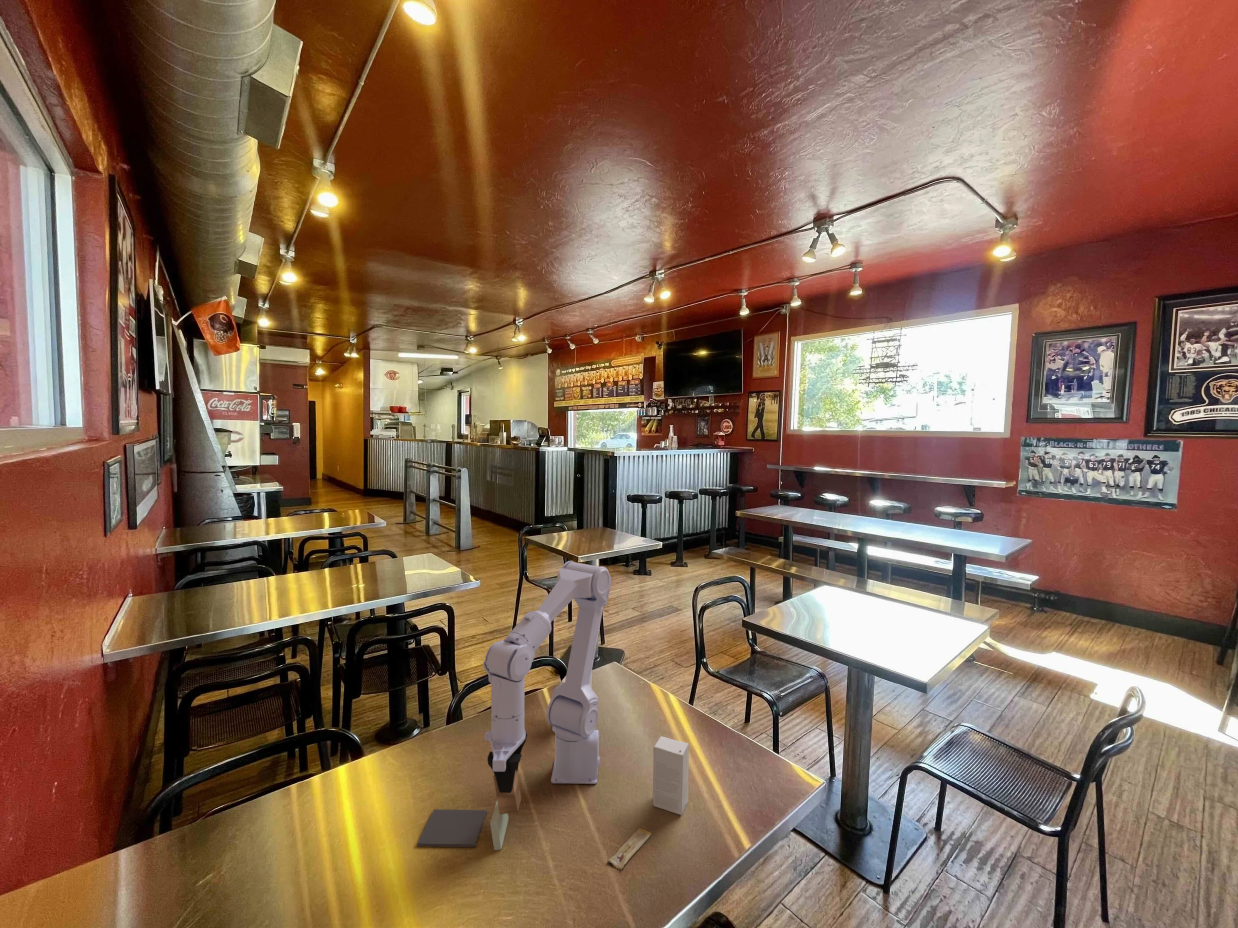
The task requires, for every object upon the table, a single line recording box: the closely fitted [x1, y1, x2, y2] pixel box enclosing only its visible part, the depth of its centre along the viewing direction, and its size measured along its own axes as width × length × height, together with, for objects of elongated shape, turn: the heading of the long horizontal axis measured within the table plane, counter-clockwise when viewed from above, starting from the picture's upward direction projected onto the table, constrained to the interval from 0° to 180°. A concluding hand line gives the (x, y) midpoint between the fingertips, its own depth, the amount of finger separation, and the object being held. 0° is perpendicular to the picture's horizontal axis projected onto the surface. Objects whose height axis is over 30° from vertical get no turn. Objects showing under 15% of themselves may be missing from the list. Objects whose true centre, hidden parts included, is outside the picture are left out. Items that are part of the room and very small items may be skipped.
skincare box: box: [652, 735, 690, 816], centre depth 100 cm, size 6×4×12 cm
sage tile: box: [490, 800, 510, 851], centre depth 92 cm, size 1×7×5 cm, turn 2°
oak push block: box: [493, 770, 522, 814], centre depth 92 cm, size 3×3×7 cm
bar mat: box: [416, 809, 488, 848], centre depth 93 cm, size 10×8×1 cm
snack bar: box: [606, 827, 652, 871], centre depth 89 cm, size 10×2×3 cm
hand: (508, 783), depth 92 cm, fingers closed on oak push block, 3 cm apart
